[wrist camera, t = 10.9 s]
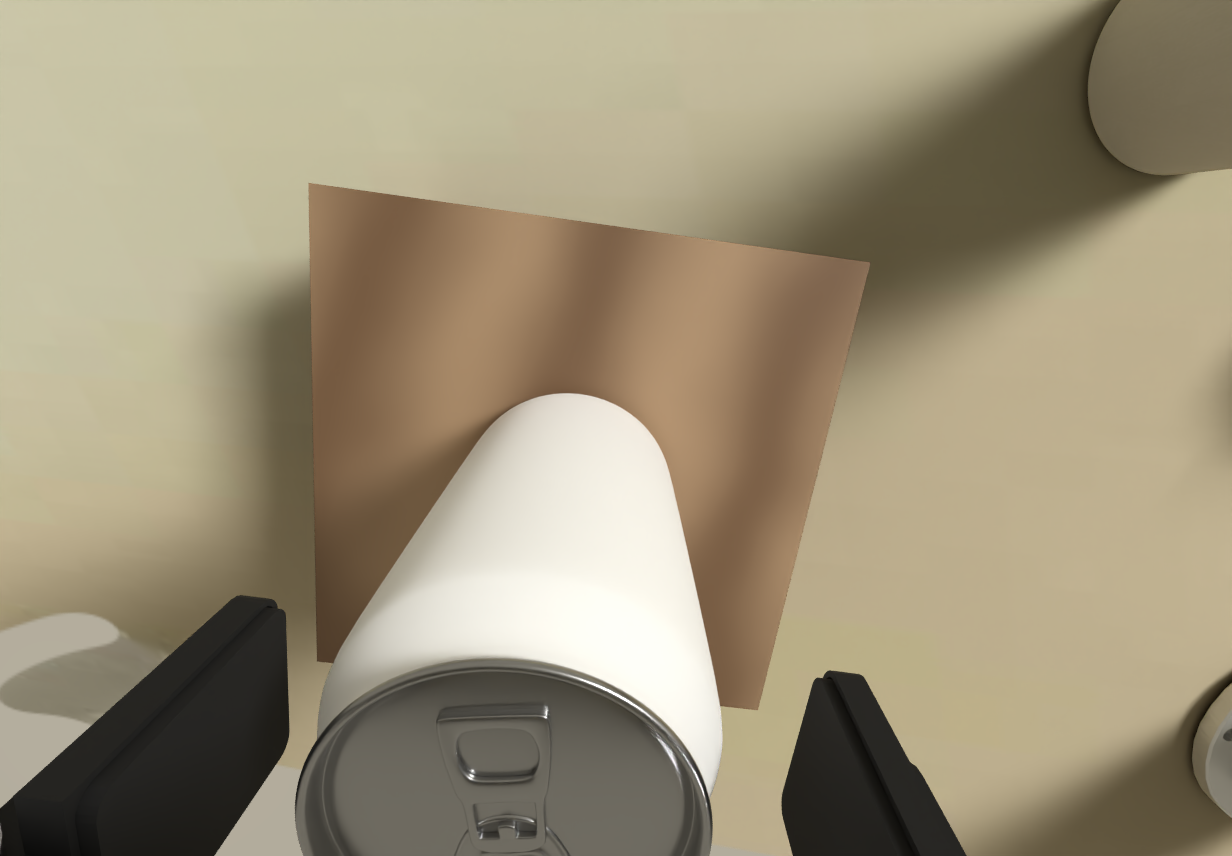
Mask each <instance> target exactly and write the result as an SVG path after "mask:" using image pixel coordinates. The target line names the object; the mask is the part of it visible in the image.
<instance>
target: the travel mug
mask: <svg viewBox="0 0 1232 856" xmlns="http://www.w3.org/2000/svg"><path fill="white" fill-rule="evenodd" d="M1088 103H1089V110H1090V115H1091V119H1092V122H1093V125H1094V128H1095V130H1096V133H1097V135H1098V136H1099V138H1100V140H1101V142H1102V143H1103V145H1104V146H1105V147H1106V149H1107V150H1108V151H1109V152H1110V153H1111V154H1112V155H1113V156H1114V157H1115V158H1116V159H1118V160H1119V161H1120V162H1122V163H1123V164H1125V165H1127V166H1128V167H1130V168H1133V169H1135V170H1137V171H1141V172H1144V173H1148V174H1153V175H1177V174H1186V173H1196V172H1205V171H1214V170H1223V169H1232V0H1121V1H1120V2H1119V3H1118V4H1117V6H1116V7H1115V9H1114V10H1113V12H1112V14H1111V15H1110V17H1109V18H1108V20H1107V22H1106V24H1105V26H1104V28H1103V30H1102V32H1101V34H1100V37H1099V39H1098V41H1097V44H1096V47H1095V50H1094V53H1093V57H1092V61H1091V65H1090V71H1089V78H1088Z"/></svg>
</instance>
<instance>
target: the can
mask: <svg viewBox="0 0 1232 856" xmlns="http://www.w3.org/2000/svg"><path fill="white" fill-rule="evenodd" d="M721 752H722V722H721V710H720V703H719V697H718V692H717V686H716V680H715V675H714V670H713V666H712V661H711V656H710V651H709V647H708V642H707V637H706V632H705V628H704V623H703V619H702V614H701V609H700V605H699V600H698V596H697V591H696V587H695V582H694V578H693V573H692V569H691V564H690V560H689V555H688V551H687V546H686V542H685V537H684V533H683V528H682V524H681V520H680V515H679V511H678V507H677V502H676V498H675V494H674V489H673V485H672V481H671V477H670V473H669V470H668V466H667V463H666V460H665V458H664V455H663V453H662V451H661V449H660V447H659V445H658V444H657V442H656V440H655V439H654V437H653V436H652V435H651V433H650V432H649V431H648V430H647V428H646V427H645V426H644V425H643V424H642V423H641V422H640V421H639V420H637V419H636V418H635V417H634V416H633V415H631V414H630V413H628V412H627V411H625V410H624V409H622V408H620V407H619V406H617V405H615V404H613V403H610V402H608V401H606V400H603V399H600V398H597V397H593V396H588V395H583V394H573V393H560V394H550V395H545V396H540V397H537V398H533V399H530V400H528V401H525V402H523V403H521V404H519V405H517V406H515V407H513V408H512V409H510V410H508V411H507V412H506V413H504V414H503V415H502V416H500V417H499V418H498V419H497V420H496V421H495V422H494V423H493V424H492V425H491V426H490V427H489V428H488V429H487V430H486V431H485V433H484V434H483V435H482V437H481V438H480V439H479V441H478V442H477V443H476V445H475V446H474V448H473V449H472V450H471V452H470V453H469V455H468V456H467V458H466V459H465V461H464V462H463V464H462V465H461V466H460V468H459V469H458V471H457V472H456V474H455V475H454V477H453V478H452V480H451V481H450V483H449V484H448V485H447V487H446V488H445V490H444V491H443V493H442V494H441V496H440V497H439V499H438V500H437V502H436V503H435V505H434V506H433V508H432V509H431V511H430V512H429V514H428V515H427V516H426V518H425V519H424V521H423V522H422V524H421V525H420V527H419V528H418V530H417V531H416V533H415V534H414V536H413V537H412V539H411V540H410V542H409V543H408V545H407V546H406V548H405V549H404V551H403V552H402V554H401V555H400V557H399V558H398V560H397V561H396V563H395V564H394V566H393V567H392V569H391V570H390V572H389V573H388V575H387V576H386V578H385V579H384V581H383V582H382V584H381V585H380V587H379V588H378V590H377V591H376V593H375V594H374V596H373V597H372V599H371V600H370V602H369V603H368V605H367V606H366V608H365V609H364V611H363V612H362V614H361V616H360V617H359V619H358V620H357V622H356V624H355V625H354V627H353V628H352V630H351V632H350V633H349V635H348V637H347V638H346V640H345V641H344V643H343V645H342V647H341V648H340V650H339V652H338V654H337V656H336V658H335V660H334V663H333V665H332V667H331V669H330V671H329V674H328V676H327V679H326V682H325V685H324V688H323V692H322V697H321V702H320V708H319V715H318V729H317V741H316V742H315V744H314V745H313V747H312V749H311V751H310V753H309V755H308V757H307V759H306V761H305V763H304V766H303V769H302V771H301V775H300V778H299V782H298V786H297V792H296V800H295V822H296V830H297V835H298V840H299V844H300V847H301V850H302V853H303V856H709V854H710V849H711V843H712V831H713V823H712V810H711V804H710V797H711V794H712V791H713V788H714V785H715V781H716V778H717V774H718V770H719V765H720V759H721Z"/></svg>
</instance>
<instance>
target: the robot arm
mask: <svg viewBox="0 0 1232 856" xmlns="http://www.w3.org/2000/svg"><path fill="white" fill-rule="evenodd" d="M288 738H289V703H288V672H287V640H286V615H285V612H284V610H282V609H278V608H277V604H276V602H275V601H274V600H272V599H266V598H258V597H250V596H243V595H240V596H236V597H235V598H233V599H232V600H231V601H229V602H228V603H227V604H226V605H225V606H224V607H223V608H222V609H221V610H219V611H218V612H217V613H216V614H215V615H214V616H213V617H212V618H211V619H209V620H208V621H207V622H206V623H205V624H204V625H203V626H202V627H201V628H199V629H198V630H197V631H196V632H195V633H194V634H193V635H192V636H191V637H189V638H188V639H187V640H186V641H185V642H184V643H183V644H182V645H181V646H179V647H178V648H177V649H176V650H175V651H174V652H173V653H172V654H171V655H169V656H168V657H167V658H166V659H165V660H164V661H163V662H162V663H161V664H159V665H158V666H157V667H156V668H155V669H154V670H153V671H152V672H151V673H149V674H148V675H147V676H146V677H145V678H144V679H143V680H142V681H141V682H139V683H138V684H137V685H136V686H135V687H134V688H133V689H132V690H131V691H129V692H128V693H127V694H126V695H125V696H124V697H123V698H122V699H121V700H119V701H118V702H117V703H116V704H115V705H114V706H113V707H112V708H111V709H109V710H108V711H107V712H106V713H105V714H104V715H103V716H102V717H101V718H99V719H98V720H97V721H96V722H95V723H94V724H93V725H92V726H91V727H89V728H88V729H87V730H86V731H85V732H84V733H83V734H82V735H81V736H79V737H78V738H77V739H76V740H75V741H74V742H73V743H72V744H71V745H69V746H68V747H67V748H66V749H65V750H64V751H63V752H62V753H61V754H60V755H58V756H57V757H56V758H55V759H54V760H53V761H52V762H51V763H50V764H48V766H46V767H45V768H44V769H43V770H42V771H41V772H39V773H38V774H37V775H36V776H35V777H34V778H33V779H32V780H31V781H30V782H28V783H27V784H26V785H25V786H24V787H23V788H22V789H21V790H19V791H18V792H17V793H16V794H15V795H14V796H13V797H12V798H11V799H10V800H9V801H8V802H7V803H6V804H5V805H4V806H2V807H1V808H0V856H214V855H215V854H216V852H217V850H218V849H219V848H220V846H221V845H222V844H223V842H224V840H225V839H226V838H227V836H228V835H229V833H230V832H231V830H232V829H233V827H234V826H235V824H236V823H237V821H238V820H239V818H240V817H241V815H242V814H243V812H244V811H245V810H246V808H247V807H248V805H249V803H250V802H251V801H252V799H253V798H254V796H255V795H256V793H257V792H258V790H259V789H260V787H261V786H262V784H263V783H264V781H265V780H266V778H267V777H268V775H269V774H270V773H271V771H272V770H273V768H274V767H275V765H276V764H277V762H278V761H279V759H280V758H281V756H282V754H283V753H284V750H285V748H286V745H287V742H288ZM1192 763H1193V769H1194V775H1195V777H1196V779H1197V781H1198V783H1199V785H1200V787H1201V789H1202V790H1203V791H1204V792H1205V793H1206V794H1207V796H1208V797H1209V798H1210V799H1211V800H1212V801H1213V802H1214V803H1215V804H1216V805H1217V806H1218V807H1220V808H1221V809H1222V810H1223V811H1224V812H1225V813H1226V814H1227V815H1228V816H1230V817H1231V818H1232V683H1231V684H1230V685H1229V686H1227V687H1226V688H1225V689H1224V690H1223V691H1222V693H1221V694H1220V695H1219V696H1218V697H1217V698H1216V700H1215V701H1214V702H1213V703H1212V704H1211V706H1210V707H1209V709H1208V710H1207V712H1206V714H1205V716H1204V717H1203V719H1202V721H1201V722H1200V724H1199V727H1198V730H1197V733H1196V736H1195V739H1194V744H1193V753H1192ZM782 815H783V820H784V824H785V828H786V831H787V835H788V839H789V843H790V846H791V850H792V854H793V856H966V854H965V852H964V850H963V848H962V847H961V845H960V843H959V841H958V839H957V837H956V836H955V834H954V832H953V830H952V828H951V827H950V825H949V823H948V821H947V819H946V817H945V816H944V814H943V812H942V810H941V808H940V806H939V805H938V803H937V801H936V799H935V797H934V796H933V794H932V792H931V790H930V788H929V786H928V785H927V783H926V781H925V779H924V777H923V776H922V774H921V773H920V771H919V770H918V768H917V767H916V766H915V765H913V764H912V763H910V761H909V760H908V758H907V756H906V754H905V752H904V750H903V748H902V747H901V745H900V743H899V741H898V739H897V737H896V736H895V734H894V732H893V730H892V728H891V726H890V724H889V723H888V721H887V719H886V717H885V715H884V713H883V711H882V710H881V708H880V706H879V704H878V702H877V700H876V698H875V697H874V695H873V693H872V691H871V689H870V687H869V685H868V684H867V682H866V680H865V679H864V677H863V676H862V675H860V674H853V673H845V672H838V671H827V672H826V673H825V674H824V677H823V678H816V679H815V680H814V682H813V685H812V688H811V692H810V696H809V699H808V703H807V706H806V710H805V714H804V717H803V721H802V724H801V728H800V732H799V735H798V739H797V742H796V746H795V750H794V753H793V757H792V760H791V764H790V768H789V771H788V775H787V778H786V782H785V786H784V789H783V793H782Z"/></svg>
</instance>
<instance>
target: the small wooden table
mask: <svg viewBox="0 0 1232 856" xmlns="http://www.w3.org/2000/svg"><path fill="white" fill-rule="evenodd" d="M309 235H310V291H311V347H312V403H313V459H314V515H315V572H316V628H317V661H319V662H328V663H334V660H335V658H336V656H337V654H338V652H339V650H340V648H341V647H342V645H343V643H344V641H345V640H346V638H347V637H348V635H349V633H350V632H351V630H352V628H353V627H354V625H355V624H356V622H357V620H358V619H359V617H360V616H361V614H362V612H363V611H364V609H365V608H366V606H367V605H368V603H369V602H370V600H371V599H372V597H373V596H374V594H375V593H376V591H377V590H378V588H379V587H380V585H381V584H382V582H383V581H384V579H385V578H386V576H387V575H388V573H389V572H390V570H391V569H392V567H393V566H394V564H395V563H396V561H397V560H398V558H399V557H400V555H401V554H402V552H403V551H404V549H405V548H406V546H407V545H408V543H409V542H410V540H411V539H412V537H413V536H414V534H415V533H416V531H417V530H418V528H419V527H420V525H421V524H422V522H423V521H424V519H425V518H426V516H427V515H428V514H429V512H430V511H431V509H432V508H433V506H434V505H435V503H436V502H437V500H438V499H439V497H440V496H441V494H442V493H443V491H444V490H445V488H446V487H447V485H448V484H449V483H450V481H451V480H452V478H453V477H454V475H455V474H456V472H457V471H458V469H459V468H460V466H461V465H462V464H463V462H464V461H465V459H466V458H467V456H468V455H469V453H470V452H471V450H472V449H473V448H474V446H475V445H476V443H477V442H478V441H479V439H480V438H481V437H482V435H483V434H484V433H485V431H486V430H487V429H488V428H489V427H490V426H491V425H492V424H493V423H494V422H495V421H496V420H497V419H498V418H499V417H500V416H502V415H503V414H504V413H506V412H507V411H508V410H510V409H512V408H513V407H515V406H517V405H519V404H521V403H523V402H525V401H528V400H530V399H533V398H537V397H540V396H545V395H550V394H560V393H573V394H583V395H588V396H593V397H597V398H600V399H603V400H606V401H608V402H610V403H613V404H615V405H617V406H619V407H620V408H622V409H624V410H625V411H627V412H628V413H630V414H631V415H633V416H634V417H635V418H636V419H637V420H639V421H640V422H641V423H642V424H643V425H644V426H645V427H646V428H647V430H648V431H649V432H650V433H651V435H652V436H653V437H654V439H655V440H656V442H657V444H658V445H659V447H660V449H661V451H662V453H663V455H664V458H665V460H666V463H667V466H668V470H669V473H670V477H671V481H672V485H673V489H674V494H675V498H676V502H677V507H678V511H679V515H680V520H681V524H682V528H683V533H684V537H685V542H686V546H687V551H688V555H689V560H690V564H691V569H692V573H693V578H694V582H695V587H696V591H697V596H698V600H699V605H700V609H701V614H702V619H703V623H704V628H705V632H706V637H707V642H708V647H709V651H710V656H711V661H712V666H713V670H714V675H715V680H716V686H717V692H718V697H719V703H720V706H725V707H734V708H743V709H752V710H758V707H759V703H760V699H761V695H762V691H763V687H764V683H765V679H766V675H767V671H768V667H769V663H770V660H771V656H772V652H773V648H774V644H775V640H776V636H777V632H778V628H779V624H780V620H781V616H782V612H783V608H784V604H785V600H786V596H787V592H788V588H789V584H790V580H791V576H792V572H793V568H794V564H795V560H796V556H797V552H798V548H799V544H800V541H801V537H802V533H803V529H804V525H805V521H806V517H807V513H808V509H809V505H810V501H811V497H812V493H813V489H814V485H815V481H816V477H817V473H818V469H819V465H820V461H821V457H822V453H823V449H824V445H825V441H826V437H827V433H828V429H829V426H830V422H831V418H832V414H833V410H834V406H835V402H836V398H837V394H838V390H839V386H840V382H841V378H842V374H843V370H844V366H845V362H846V358H847V354H848V350H849V346H850V342H851V338H852V334H853V330H854V326H855V322H856V318H857V314H858V310H859V307H860V303H861V299H862V295H863V291H864V287H865V283H866V279H867V275H868V271H869V267H870V263H871V262H864V261H857V260H850V259H843V258H835V257H828V256H821V255H814V254H807V253H800V252H793V251H786V250H779V249H772V248H765V247H758V246H751V245H743V244H736V243H729V242H722V241H715V240H708V239H701V238H694V237H687V236H680V235H673V234H666V233H659V232H651V231H644V230H637V229H630V228H623V227H616V226H609V225H602V224H595V223H588V222H581V221H574V220H567V219H559V218H552V217H545V216H538V215H531V214H524V213H517V212H510V211H503V210H496V209H489V208H482V207H475V206H468V205H460V204H453V203H446V202H439V201H432V200H425V199H418V198H411V197H404V196H397V195H390V194H383V193H376V192H368V191H361V190H354V189H347V188H340V187H333V186H326V185H319V184H312V183H309Z"/></svg>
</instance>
